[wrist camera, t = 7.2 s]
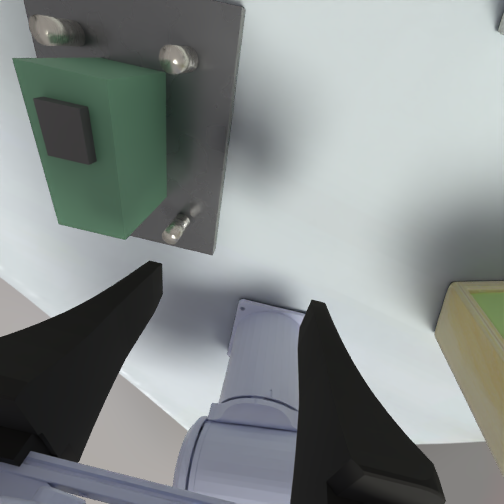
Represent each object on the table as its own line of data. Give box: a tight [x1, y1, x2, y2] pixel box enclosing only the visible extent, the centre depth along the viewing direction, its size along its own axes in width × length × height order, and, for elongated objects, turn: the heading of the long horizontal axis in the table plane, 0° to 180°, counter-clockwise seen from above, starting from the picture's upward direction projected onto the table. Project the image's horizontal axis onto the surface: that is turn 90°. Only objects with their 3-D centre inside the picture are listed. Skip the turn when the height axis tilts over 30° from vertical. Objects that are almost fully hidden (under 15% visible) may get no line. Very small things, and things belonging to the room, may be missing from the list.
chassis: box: [24, 0, 245, 255], centre depth 18 cm, size 16×12×4 cm
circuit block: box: [12, 58, 167, 240], centre depth 16 cm, size 8×4×7 cm, turn 170°
